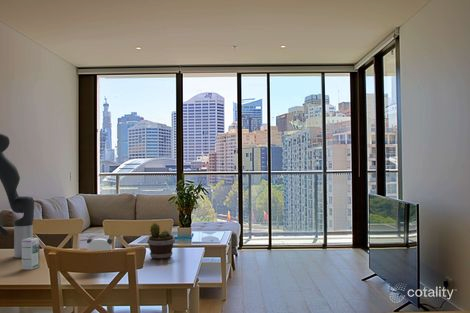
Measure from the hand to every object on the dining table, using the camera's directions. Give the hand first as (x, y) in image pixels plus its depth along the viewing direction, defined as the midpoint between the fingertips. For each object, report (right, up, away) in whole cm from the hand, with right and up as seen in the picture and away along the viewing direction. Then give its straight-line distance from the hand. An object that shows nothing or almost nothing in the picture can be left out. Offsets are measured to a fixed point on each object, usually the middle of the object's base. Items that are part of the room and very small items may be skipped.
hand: (7, 234), depth 207 cm
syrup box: (+9, -18, +5) cm, 20 cm away
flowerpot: (+69, -18, +26) cm, 76 cm away
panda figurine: (+44, -17, +1) cm, 47 cm away
